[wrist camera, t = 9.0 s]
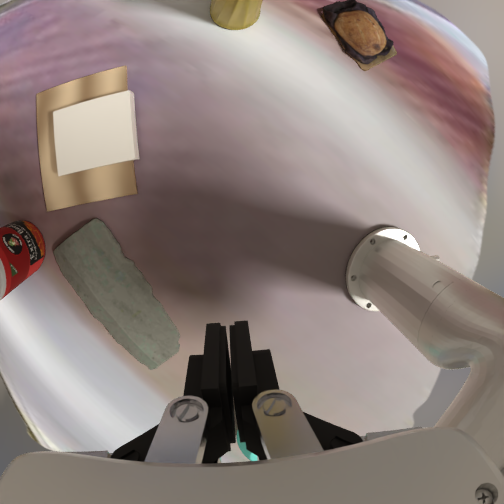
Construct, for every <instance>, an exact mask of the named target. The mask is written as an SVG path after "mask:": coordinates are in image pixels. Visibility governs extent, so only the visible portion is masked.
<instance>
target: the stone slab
mask: <svg viewBox="0 0 504 504" xmlns="http://www.w3.org/2000/svg"><path fill="white" fill-rule="evenodd" d="M54 255H55V258H56V261H57V263H58V264H59V266H60V270H61V272H62V273H63V275H64V277H65V278H66V279H67V280H68V282H69V283H70V284H71V285H72V286H73V288H74V289H75V291H76V292H77V294H78V296H80V297H81V299H82V300H83V302H84V303H85V304H86V306H87V307H88V309H89V311H90V312H91V314H92V315H93V317H94V318H96V319H97V320H98V321H100V322H101V323H102V324H103V325H104V326H105V327H106V328H107V330H108V331H109V333H110V334H111V335H112V336H113V338H114V339H115V340H116V342H117V343H119V344H121V345H122V346H123V347H124V348H125V349H126V350H127V351H128V352H129V353H130V354H131V355H133V356H134V357H135V358H136V359H137V360H138V361H139V362H140V363H142V364H144V365H146V366H147V367H148V368H149V369H150V370H152V369H156V368H157V367H158V366H160V365H161V364H162V363H164V362H165V361H167V360H168V359H169V358H171V357H172V356H173V355H175V354H176V353H177V352H179V347H180V344H179V343H178V340H179V338H180V334H179V332H178V330H177V328H176V326H175V325H174V324H173V322H172V321H171V319H170V318H169V316H168V315H167V313H166V312H165V310H164V308H163V306H162V305H161V303H160V302H159V301H158V300H156V299H155V298H154V296H153V294H152V287H151V285H150V284H149V283H148V282H147V281H146V280H145V279H144V277H143V274H142V273H141V272H140V271H139V270H138V269H137V268H136V267H135V264H134V262H133V261H132V260H130V259H127V258H125V257H124V255H123V253H122V251H121V247H120V245H119V243H118V242H117V241H116V239H115V238H114V237H113V235H112V233H111V232H110V230H109V229H108V228H107V227H106V226H105V224H104V223H103V222H102V221H100V220H99V219H97V218H96V219H93V220H91V221H90V222H89V223H87V224H86V225H84V226H83V227H82V228H81V229H80V230H79V231H77V232H75V233H74V234H72V235H71V236H70V237H69V238H67V239H66V240H65V241H64V242H63V243H62V244H60V245H59V246H58V247H57V248H56V249H55V250H54Z"/></svg>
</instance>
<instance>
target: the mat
mask: <svg viewBox="0 0 504 504" xmlns="http://www.w3.org/2000/svg"><path fill="white" fill-rule="evenodd" d="M124 91H128V89H127V66H122V67H118V68H114V69H110V70H106V71H103V72H99V73H96V74H92V75H89V76H86V77H82V78H79V79H76V80H73V81H70V82H67V83H64V84H62V85H59V86H56V87H53V88H51V89H48V90H45V91H43V92H40V93H38V94H37V132H38V146H39V157H40V167H41V175H42V183H43V190H44V196H45V202H46V208H47V212H49V211H53V210H57V209H62V208H66V207H71V206H76V205H80V204H85V203H90V202H95V201H100V200H105V199H111V198H116V197H122V196H127V195H133V194H138V192H137V185H136V178H135V170H134V162H133V160H132V161H127V162H121V163H116V164H112V165H107V166H102V167H98V168H93V169H89V170H85V171H80V172H76V173H72V174H68V175H64V176H58V169H57V160H56V150H55V138H54V122H53V112H54V111H57V110H60V109H63V108H66V107H69V106H72V105H75V104H79V103H82V102H85V101H89V100H92V99H96V98H100V97H103V96H107V95H111V94H115V93H120V92H124Z"/></svg>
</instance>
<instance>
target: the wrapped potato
mask: <svg viewBox="0 0 504 504" xmlns="http://www.w3.org/2000/svg"><path fill="white" fill-rule="evenodd" d="M321 17H322V18H323V20H324V22H325V23H326V24H327V25H328V27H329V28H330V30H331V32H332V33H333V34H334V35H335V37H336V38H337V39H338V41H339V42H340V43H341V44H342V45H341V46H342V47H343V49H345V50H346V53H347V54H349V55H350V56H351V57H352V59H354V60H355V61H356V63H357V64H358V65H359V66H360V68H361V69H362V70H363V71H367V70H369V69H370V68H372V67H374V66H376V65H378V64H380V63H381V62H383V61H385V60H387V59H389V58H391V57H393V56H395V55H396V54H397V52H396V50H395V48H394V47H393V41H392V40H390V39H388V37H387V36H386V34H385V30H384V27H383V26H382V24H381V22H380V21H379V20H378V18H377V16H376V14H375V12H374V10H372V9H371V8H368V7H366V5H364V4H362V3H358V2H356V0H347V1H344V2H340V1H339V2H336V3H334V4H331V5H327V6H325V7H323V16H322V15H321Z"/></svg>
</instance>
